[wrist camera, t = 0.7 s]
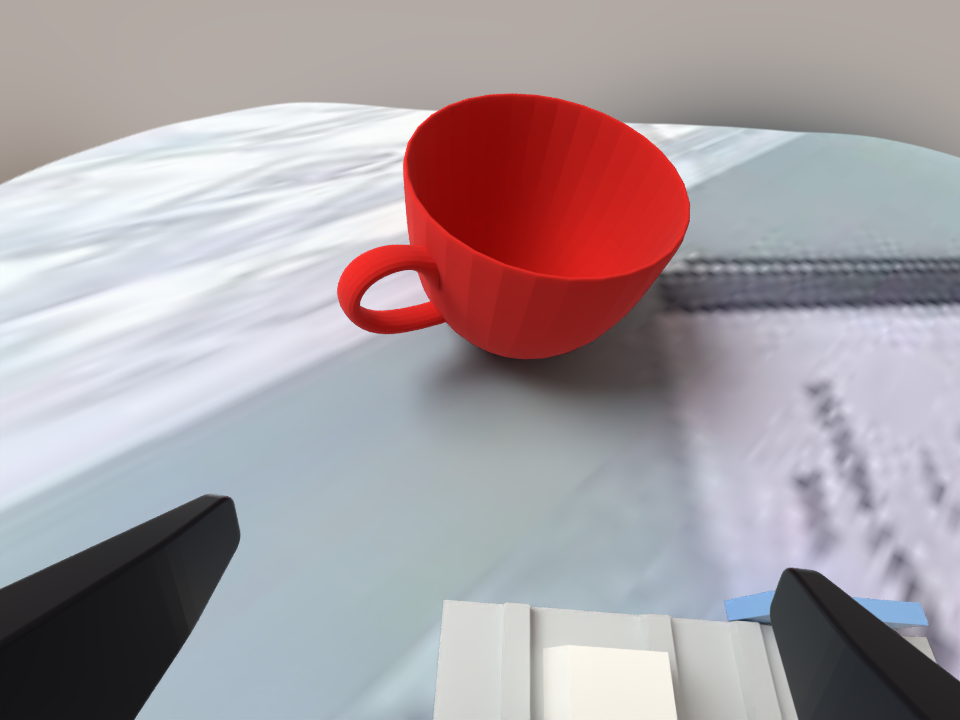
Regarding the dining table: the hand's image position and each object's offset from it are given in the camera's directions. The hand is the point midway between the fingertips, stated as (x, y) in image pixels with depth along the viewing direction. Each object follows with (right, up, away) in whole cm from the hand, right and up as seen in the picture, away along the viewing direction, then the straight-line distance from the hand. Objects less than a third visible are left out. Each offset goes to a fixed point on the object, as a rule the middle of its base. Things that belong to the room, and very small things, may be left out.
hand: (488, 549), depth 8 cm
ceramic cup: (0, +5, +21) cm, 22 cm away
